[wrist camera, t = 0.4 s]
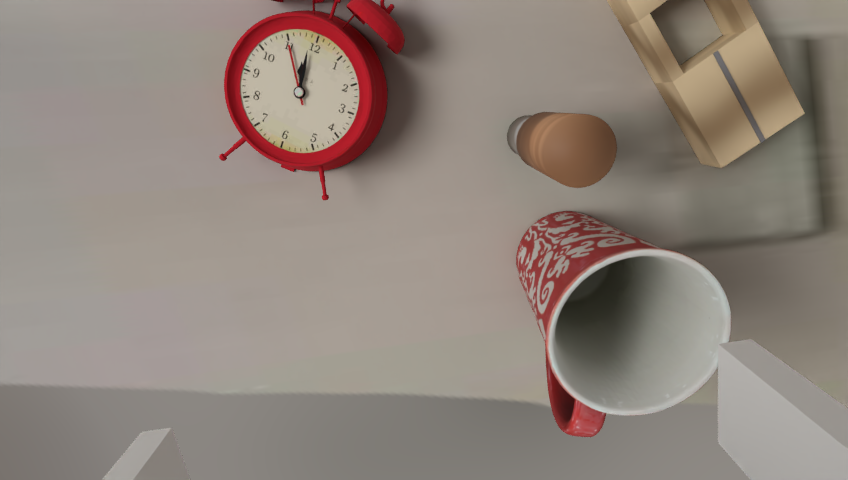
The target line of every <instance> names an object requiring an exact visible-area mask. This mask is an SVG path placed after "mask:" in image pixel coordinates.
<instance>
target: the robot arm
mask: <svg viewBox="0 0 848 480" xmlns="http://www.w3.org/2000/svg"><path fill="white" fill-rule="evenodd" d="M718 443H719V444H720V446H721V447H722V448H723V449H724V450H725V451H726V452H727V454H729V456H730V457H731V458H732V459H733V460H734V461H735V463H736V464H737V465H738V466H739V467H740V468H741V469H742V471H743V472H744V473H745V474H746V475H747V476H748V477H749V478H750V480H848V408H847V407H845V406H844V405H843V404H841V403H840V402H838V401H837V400H836V399H834V398H833V397H831V396H830V395H829V394H827V393H826V392H824V391H823V390H822V389H820V388H819V387H817V386H816V385H815V384H813V383H812V382H811V381H809V380H808V379H806V378H805V377H804V376H802V375H801V374H799V373H798V372H797V371H795V370H794V369H792V368H791V367H790V366H788V365H787V364H785V363H784V362H783V361H781V360H780V359H778V358H777V357H776V356H774V355H773V354H771V353H770V352H769V351H767V350H766V349H765V348H763V347H762V346H760V345H759V344H758V343H756V342H755V341H753V340H752V339H747V340H740V341H734V342H727V343H721V344H718ZM102 480H191V479H190V476H189V474H188V471H187V468H186V465H185V462H184V459H183V457H182V454H181V451H180V448H179V445H178V443H177V440H176V437H175V435H174V432H173V429H172V428H165V429H158V430H152V431H145V432H141V433H140V434H139V435H138V437H137V438H136V439H135V440H134V442H133V443H132V444H131V445H130V446H129V448H128V449H127V450H126V451H125V452H124V454H123V455H122V456H121V457H120V459H119V460H118V461H117V462H116V463H115V465H114V466H113V467H112V468H111V469H110V471H109V472H108V473H107V474H106V476H105V477H104V478H103V479H102Z"/></svg>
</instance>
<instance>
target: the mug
mask: <svg viewBox="0 0 848 480" xmlns="http://www.w3.org/2000/svg"><path fill="white" fill-rule="evenodd" d="M516 265H517V271H518V275H519V278H520V281H521V283H522V286H523V288H524V290H525V293H526V295H527V298H528V301H529V303H530V305H531V308H532V310H533V312H534V315H535V317H536V320H537V323H538V326H539V328H540V331H541V333H542V336H543V338H544V341H545V345H546V369H547V383H548V391H549V398H550V403H551V408H552V412H553V415H554V417H555V420H556V422H557V424H558V426H559V428H560V429H561V430H562V431H563V432H565V433H567V434H569V435H572V436H581V437H592V436H594V435H596V434H597V433H598V432H599V431H600V429H601V428H602V426H603V423H604V421H605V416H606V413H608V414H614V415H630V416H631V415H644V414H650V413H654V412H658V411H661V410H664V409H668V408H670V407H672V406H674V405H676V404H678V403H680V402H682V401H684V400H685V399H687V398H689V397H690V396H691V395H693V394H694V393H695V392H697V391H698V390H699V389H700V388H701V387H702V386H703V385H704V384H705V383H706V382H707V381H708V380H709V379H710V378H711V376H712V375H713V374H714V373H715V371H716V369H717V368H718V344H721V343H727V342H729V339H730V334H731V323H732V322H731V310H730V305H729V302H728V298H727V295H726V293H725V291H724V289H723V288H722V286H721V284H720V283H719V281H718V280H717V279H716V277H715V276H714V275H713V274H712V273H711V272H710V271H709V270H708V269H707V268H706V267H705V266H703V265H702V264H701V263H699V262H698V261H696V260H695V259H693V258H691V257H689V256H687V255H684V254H682V253H680V252H676V251H672V250H668V249H662V248H659V247H657V246H655V245H653V244H651V243H649V242H646V241H644V240H642V239H639V238H637V237H634V236H632V235H630V234H627V233H625V232H623V231H621V230H619V229H617V228H614V227H612V226H610V225H608V224H605V223H603V222H601V221H599V220H597V219H595V218H593V217H591V216H588V215H585V214H582V213H578V212H572V211H563V212H556V213H553V214H550V215H547V216H546V217H543V218H541V219H540V220H538V221H537V222H536V223H535V224H533V225H532V226H531V227H530V228H529V229H528V230H527V232H526V233H525V235H524V236H523V238H522V240H521V242H520V244H519V247H518V251H517V257H516Z"/></svg>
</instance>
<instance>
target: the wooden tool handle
mask: <svg viewBox="0 0 848 480" xmlns="http://www.w3.org/2000/svg"><path fill="white" fill-rule="evenodd" d="M507 141H508V144H509V146H510V148H511V149H512V150H513V151H514V152H515V153H516V154H518V155H519V156H520V157H521V159H522V160H523V161H524V162H525V163H526V164H527V165H529V166H531V167H532V168H534V169H536V170H538V171H540V172H541V173H543V174H545V175H547V176H549V177H550V178H552V179H554V180H556V181H557V182H559V183H561V184H563V185H566V186H569V187H575V188H581V187H586V186H590V185H592V184H594V183H596V182H598V181H599V180H601V179H602V178H603V177H604V176H605V175H606V174H607V173H608V172H609V170H610V169H611V167H612V165H613V163H614V161H615V157H616V152H617V144H616V139H615V136H614V133H613V131H612V129H611V128H610V127H609V125H608V124H607V123H606V122H604V121H603V120H602V119H600V118H598V117H595V116H592V115H586V114H570V113H553V112H542V113H538V114H535V115H533V116H522V117H520V118H518V119H516V120H515V121H514V122H513V123H512V124H511V125H510V127H509V130H508V133H507Z"/></svg>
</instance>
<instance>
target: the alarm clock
mask: <svg viewBox="0 0 848 480" xmlns="http://www.w3.org/2000/svg"><path fill="white" fill-rule="evenodd" d="M273 1H278V2H283V0H273ZM323 1H324V0H313V11H294V12H286V13H281V14H276V15H272V16H270V17H267V18H265V19H263V20H261V21H259V22H258V23H256V24H255V25H253V26H252V27H251V28H250V29H249V30H247V32H246V33H245V34H244V35H243V36H242V37H241V38H240V39H239V41H238V42H237V43H236V45H235V47H234V48H233V50H232V52H231V55H230V57H229V59H228V63H227V67H226V71H225V79H224V90H225V99H226V103H227V107H228V110H229V113H230V116H231V118H232V120H233V122H234V124H235V126H236V128H237V129H238V131H239V132H240V134H241V135H242V136H243V137H242V138H241V139H240V140H239V141H238V142H236V143H235V144H234V145H233V147H232V148H230V149H229V150H228V151H227V152H226V153H225V154H221V155H220V156H219V158H220V159H221V160H222V161H224V160H226V159H227V158H226V157H227V156H228V155H229V154H230V153H232V152H233V151H234V150H235V149H237V148H238V147H239V146H241V145H242V144H243V143H244V142H245V141H247V142H248V143H249V144H250V145H251V146H252V147H253V148H254V149H255V150H256V151H258V152H259V153H260V154H262V155H263V156H265V157H267V158H268V159H271V160H273V161H275V162H277V163H280V164H282V165H281V167H282V168H285V169H288V170H290V171H293V172H294V169H298V170H304V171H319V175H320V181H321V184H322V190H323V196H322V199H323V200H328V198H329V196H328V195H327V194H326V187H325V176H324V171H325V170H330V169H334V168H337V167H340V166H343V165H345V164H347V163H349V162H351V161H352V160H354V159H355V158H357V157H358V156H359V155H361V154H362V153H363V152H364V151H365V150H366V149H367V148H368V147H369V146H370V145H371V143H372V142H373V140H374V139H375V138H376V136H377V134H378V132H379V130H380V128H381V126H382V123H383V120H384V117H385V113H386V108H387V84H386V79H385V74H384V71H383V68H382V65H381V62H380V60H379V58H378V56H377V54H376V53H375V51H374V49H373V48H372V47H371V45H370V44H369V42H368V41H367V40H366V39H365V38H364V37H363V36H362V35H361V34H360V33H359V32H358V31H357V30H356V29H355V28H354V27H352V26H351V25H350V24H348V23H349V22H350V21H351V19H352V18H353V17H354V16H355V17H356V18H357V19H358V20H359V21H360V22H362V23H363V24H365V22H366V23H367V24H368V25H369V26H370V27H371V28H372V29H373V30H374V31H375V32H376V33H377V34H378V35H379V36H380V37H381V38H383V39H384V40H385V41H386V42H387V43H388V45H387V47H388V48H389V49H391V50H392V51H393V52H394V53H395V54H398V53H399V52H400V51H401V49H402V47H403V46H404V41H405V39H404V35H403V33H402V30H401V29H400V27H399V26H398V25H397V23H396V22H395V21H394V20H393V18H392V17H391V16H390V15H389V14H390V13H391V11H392V10H393V8H394V5H392V4H390V6H389V7H388V8H387V9H386V8H385V6H384V0H381V2H380V6H381V7H380V6H379V5H378V4H376V3H375V2H373V1H372V0H351V1H350V2H349V3H348V4H347V8H348V9H349V10H350V11H351V12H352V13H353V14H354V15H353V16H352V17H351V18H350V20H349V21H348V22H345V21H343V20H341V19H339V18H337V17H335V16H333V15H334V12H335V9H336V6H337V3H338V2H339V3H340V2H341V0H334V4H333V7H332V10H331V13H330V14H326V13H323V12H319V11H315V5H314V3H318V2H323Z"/></svg>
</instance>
